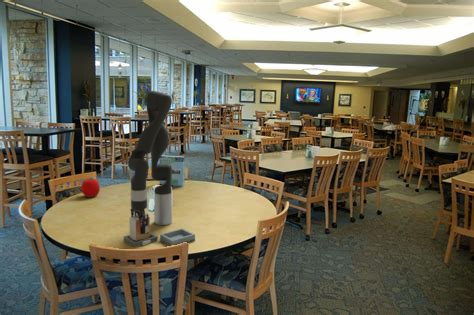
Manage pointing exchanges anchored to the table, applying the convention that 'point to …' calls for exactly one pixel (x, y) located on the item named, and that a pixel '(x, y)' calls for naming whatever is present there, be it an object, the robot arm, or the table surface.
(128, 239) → the clip holder
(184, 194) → the table surface
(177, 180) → the gum box
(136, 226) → the small box
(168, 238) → the tray
